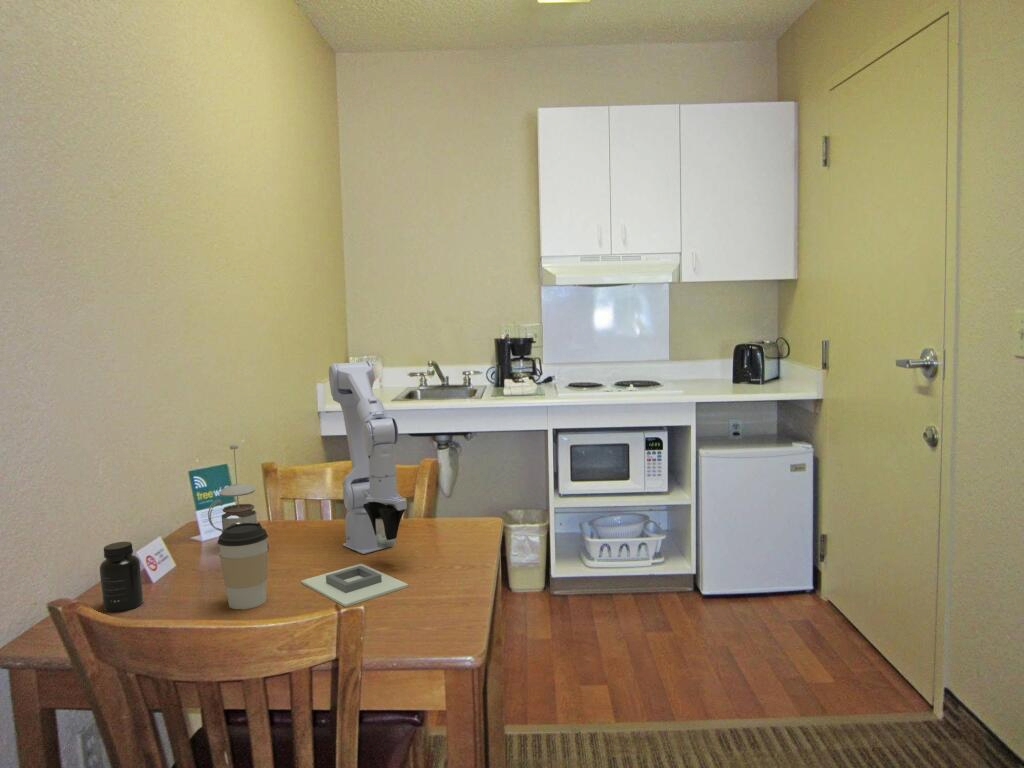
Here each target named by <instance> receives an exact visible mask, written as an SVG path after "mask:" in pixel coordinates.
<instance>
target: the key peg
mask: <svg viewBox="0 0 1024 768" xmlns="http://www.w3.org/2000/svg"><path fill="white" fill-rule="evenodd" d="M375 522H376V541H377V547H380V548H384V549H387V548H391V547H392V548H393V547H394V546H396V538H395V539H392V540H387V539H386V536H385V529H384V523H383V520H382V517H381V516H378V517H376V518H375Z"/></svg>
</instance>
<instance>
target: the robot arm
mask: <svg viewBox="0 0 1024 768" xmlns="http://www.w3.org/2000/svg"><path fill="white" fill-rule="evenodd" d="M328 382H329V389H330V394H331V396H332V400H333V401H334V402H335V403H338V404H340V408H341V411H342V414H343V421H344V426H345V431H346V432H345V433H346V439H347V445H348V450H349V456H350V461H351V468H352V469H351V470H350V472H349V473H347V474H346V475H345V477H344V478H343V481H342V496H343V498H342V499H343V503H344V506H345V509H347V510H348V511H347V513H346V514H345V519H344V522H345V525H344V526H345V542H344V543H342V546H344V547H346V548H348V549H350V550H353V551H356V552H357V553H359V554H362V555H366V554H370V553H372V552H376V551H380V550H383V549H385V548H380V547H377V541H376V522H375V518H376V517H378V516H381V517H382V520H383V523H384V529H385V536H386V539H387V540H392V539H395V540H396V539H397V537H398V532H399V526H400V523H401V520H402V518H403V515H404V513H405V511H406V510H407V508H408V505H407V504H408V503H407V499H405V498H403V497H402V496H401V495H400V494H399V493H398V485H397V482H398V481H397V466H396V465H397V463H396V462H397V461H396V446H395V445H397V444H398V442H399V427H398V423H397V420H396V418H395V417H394V416H391V415H388V412H387V410H386V408H385V407H384V405H383V402H382V400H381V399H380V398H379V397H377V396H375V395H374V392H373V387H374V383H375V369H374V365H373V364H372V362H371V361H370V360H365V361H355V362H354V361H353V362H340V363H339V362H338V363H336V362H332V363H331V364H330V366H329V367H328Z"/></svg>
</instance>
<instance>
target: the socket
mask: <svg viewBox="0 0 1024 768" xmlns="http://www.w3.org/2000/svg"><path fill="white" fill-rule="evenodd" d="M300 581H301V582H300V583H301V584H302V585H304V586H305V587H308V588H310V589H311V590H312V591H313V590H314V591H315V592H317V593H318V594H321V595H323V596H324V597H326V598H328V599H330V600H331V601H333V602H334V603H335V602H336V603H337V604H339V605H340V606H343V607H345V608H347V607H350V606H353V605H357V604H358V603H362V602H365V601H369V600H371V599H372V600H373V599H375V598H379V597H380V596H384V595H388V594H390V593H393V592H396V591H400V590H403V589H406V588H408V587H409V584H408V583H406V582H404V581H402V580H399V579H397V578H394V577H393V576H391V575H388V574H386V573H383V572H381V571H379V570H377V569H375V568H372V567H371V566H368V565H366V564H363V563H358V564H355V565H351V566H347V567H344V568H342V569H341V568H340V569H337V570H334V571H330V572H325V573H324V574H319V575H316V576H313V577H308V578H305V579H302V580H300Z"/></svg>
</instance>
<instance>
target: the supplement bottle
mask: <svg viewBox="0 0 1024 768" xmlns="http://www.w3.org/2000/svg"><path fill="white" fill-rule="evenodd" d="M133 553H134V549H133V544H132V542H130V541H118V542H113V543H112V542H111V543H109V544H107V545H105V546H103V557H104V560H103V561H102V562H101V564H100V565H99V576H100V586H101V594H102V595H101V596H102V605H103V608H104V610H105V611H107V612H109V613H119V612H126V611H130V610H133V609H135V608H137V607H139V606H141V604H142V603H143V602H144V590H143V580H142V573H141V571H142V570H141V563H140V558H138V556H136V555H135V554H133Z"/></svg>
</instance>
